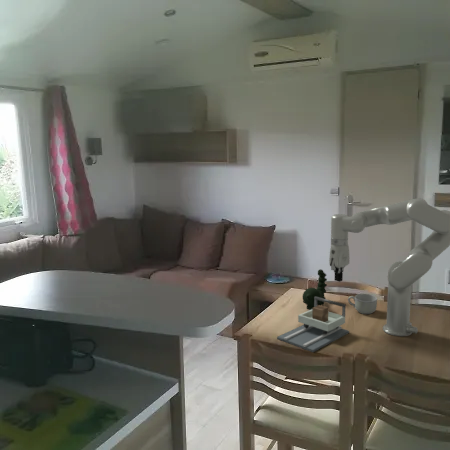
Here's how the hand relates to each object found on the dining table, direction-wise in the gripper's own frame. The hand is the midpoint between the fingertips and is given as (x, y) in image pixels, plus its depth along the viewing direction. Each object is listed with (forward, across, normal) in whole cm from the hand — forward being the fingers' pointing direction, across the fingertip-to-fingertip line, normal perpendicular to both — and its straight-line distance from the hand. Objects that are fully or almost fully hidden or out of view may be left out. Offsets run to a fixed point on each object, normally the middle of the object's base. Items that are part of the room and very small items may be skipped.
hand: (338, 280), depth 219 cm
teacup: (+21, +22, 0) cm, 31 cm away
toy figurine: (+21, +13, +22) cm, 33 cm away
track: (+21, -19, 0) cm, 28 cm away
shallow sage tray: (+19, -13, 0) cm, 23 cm away
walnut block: (+15, -14, 0) cm, 21 cm away
